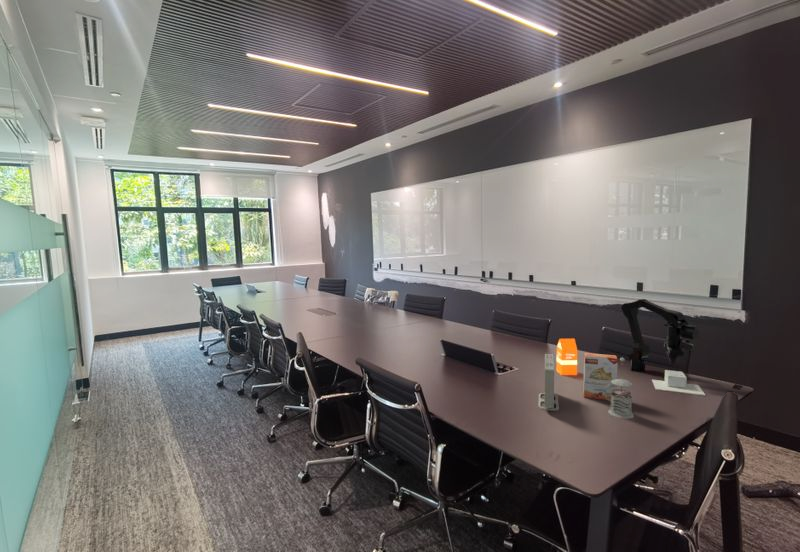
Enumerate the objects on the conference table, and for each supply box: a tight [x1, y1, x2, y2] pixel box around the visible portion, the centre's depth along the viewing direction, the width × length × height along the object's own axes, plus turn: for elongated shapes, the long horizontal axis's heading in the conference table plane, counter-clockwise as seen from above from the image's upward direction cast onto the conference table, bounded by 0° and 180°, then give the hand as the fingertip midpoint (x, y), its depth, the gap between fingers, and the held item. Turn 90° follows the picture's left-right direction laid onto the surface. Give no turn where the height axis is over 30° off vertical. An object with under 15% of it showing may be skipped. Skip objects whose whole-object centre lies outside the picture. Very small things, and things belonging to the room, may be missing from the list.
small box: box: [663, 369, 688, 388], centre depth 202 cm, size 8×6×10 cm
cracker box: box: [582, 352, 619, 401], centre depth 187 cm, size 14×6×21 cm, turn 68°
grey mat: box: [651, 379, 706, 397], centre depth 198 cm, size 20×14×1 cm
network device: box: [537, 353, 560, 411], centre depth 183 cm, size 26×9×20 cm, turn 160°
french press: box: [604, 357, 635, 420], centre depth 170 cm, size 10×12×25 cm
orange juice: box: [555, 338, 578, 376], centre depth 223 cm, size 8×9×20 cm
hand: (672, 364), depth 208 cm, fingers closed
